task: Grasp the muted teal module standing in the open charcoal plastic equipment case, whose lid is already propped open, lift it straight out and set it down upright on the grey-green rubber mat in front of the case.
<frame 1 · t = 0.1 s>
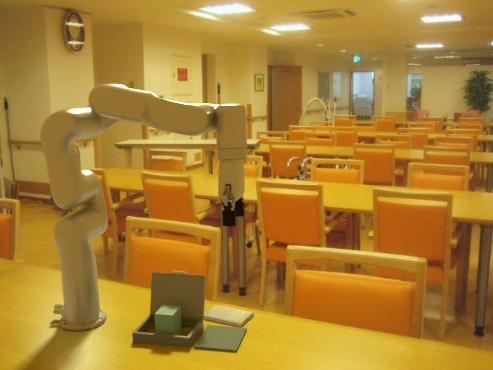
hand: (233, 220, 130), 31 cm above the table, tool pointing down, fingers open, 9 cm apart
module: (169, 334, 136), resting in case
case: (169, 333, 136), on the table
mat: (221, 338, 133), on the table
hard drive: (228, 319, 146), on the table
lid: (177, 293, 142), point 8 cm above the table, hinge at 105.0°
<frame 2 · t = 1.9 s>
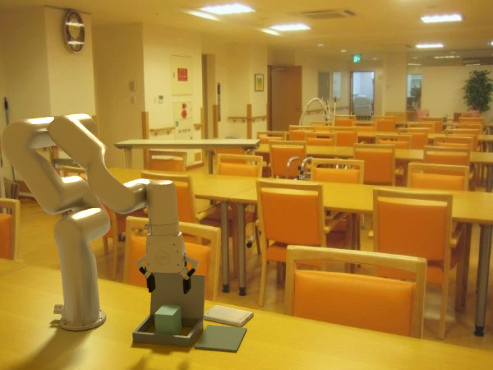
hand: (169, 291, 134), 12 cm above the table, tool pointing down, fingers open, 9 cm apart
nothing on the table moved.
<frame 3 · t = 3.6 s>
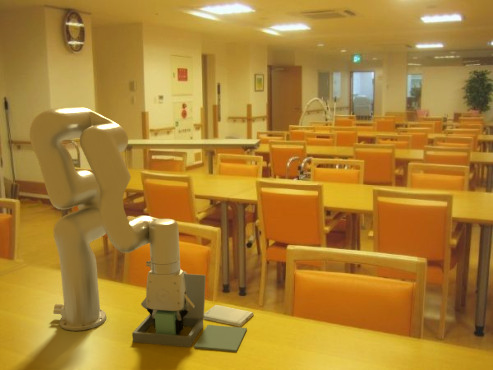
hand: (169, 330, 136), 1 cm above the table, tool pointing down, fingers closed on module, 5 cm apart
module: (169, 334, 136), resting in case, touching gripper
everything else where it was.
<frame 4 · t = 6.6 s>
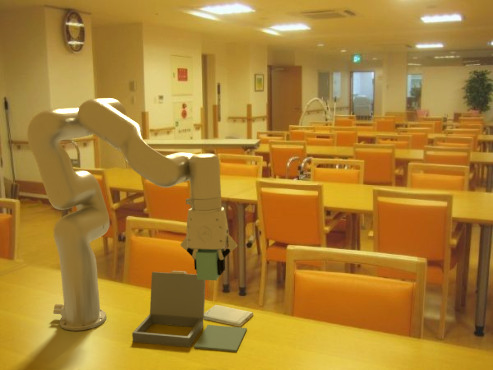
hand: (210, 272, 130), 18 cm above the table, tool pointing down, fingers closed on module, 5 cm apart
module: (210, 275, 131), point 17 cm above the table, touching gripper
everything else where it was.
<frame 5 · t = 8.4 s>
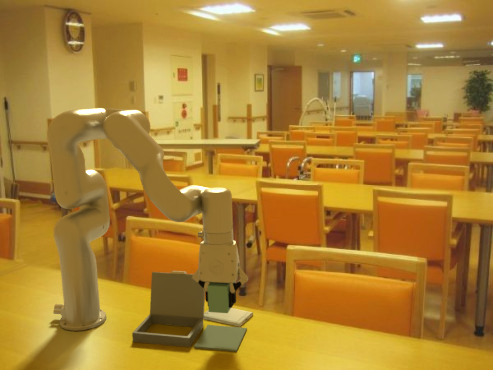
hand: (221, 304, 131), 10 cm above the table, tool pointing down, fingers closed on module, 5 cm apart
module: (221, 307, 132), point 9 cm above the table, touching gripper
everything else where it was.
when the fingers open (3 cm above the table, at t = 10.0 s): module drops 1 cm, resting on mat.
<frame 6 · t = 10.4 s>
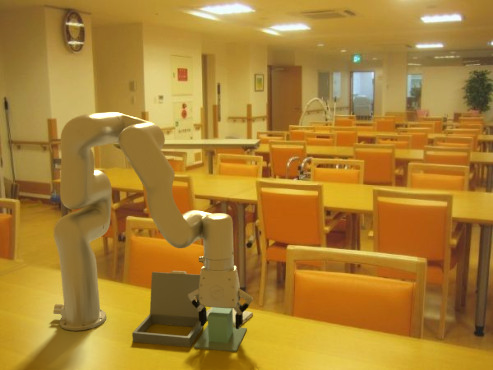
hand: (220, 325, 133), 4 cm above the table, tool pointing down, fingers open, 9 cm apart
module: (221, 336, 133), resting on mat
everything else where it was.
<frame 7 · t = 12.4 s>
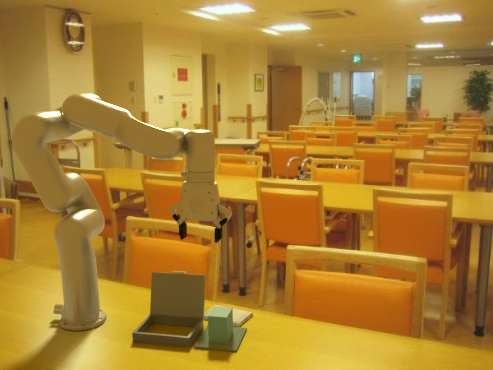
hand: (200, 239, 137), 24 cm above the table, tool pointing down, fingers open, 9 cm apart
nothing on the table moved.
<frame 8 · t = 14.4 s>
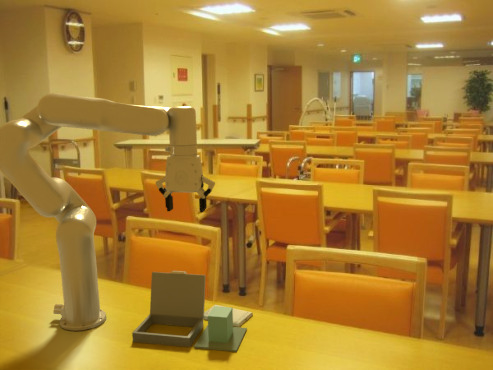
hand: (186, 210, 145), 30 cm above the table, tool pointing down, fingers open, 9 cm apart
nothing on the table moved.
at the end: module 0.1 cm off-centre on the mat, point 0.5 cm above the mat's base; module tilted 0°; lid at +105° (first picture: +105°) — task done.
